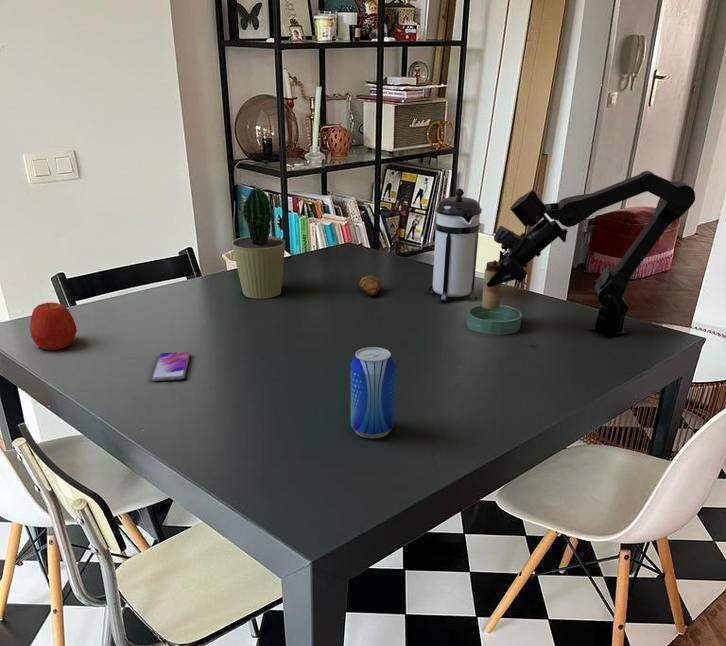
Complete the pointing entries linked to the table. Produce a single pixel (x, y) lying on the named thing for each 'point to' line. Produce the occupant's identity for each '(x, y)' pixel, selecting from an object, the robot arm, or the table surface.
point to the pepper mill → (491, 293)
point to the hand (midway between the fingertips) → (487, 282)
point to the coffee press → (456, 246)
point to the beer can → (372, 392)
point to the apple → (52, 326)
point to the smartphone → (171, 366)
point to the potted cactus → (259, 250)
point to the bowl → (494, 320)
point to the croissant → (370, 285)
